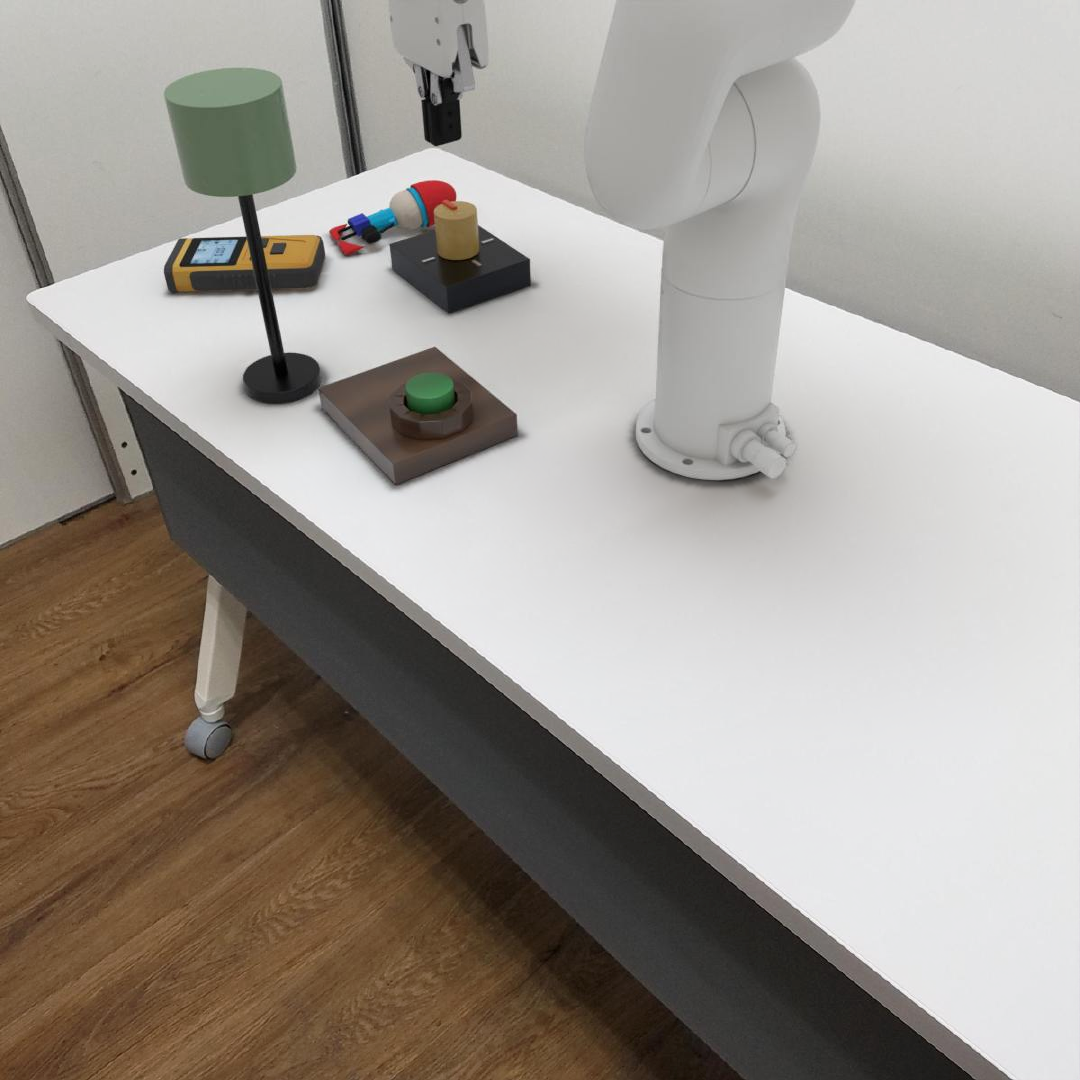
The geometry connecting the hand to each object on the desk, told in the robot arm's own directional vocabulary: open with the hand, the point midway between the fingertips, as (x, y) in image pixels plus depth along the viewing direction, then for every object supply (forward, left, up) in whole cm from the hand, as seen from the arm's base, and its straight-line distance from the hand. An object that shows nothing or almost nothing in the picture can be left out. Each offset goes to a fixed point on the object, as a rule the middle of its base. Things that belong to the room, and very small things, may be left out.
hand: (443, 140), depth 108 cm
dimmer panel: (+2, -2, -16) cm, 16 cm away
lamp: (-6, +22, -16) cm, 28 cm away
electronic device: (+16, +16, -16) cm, 28 cm away
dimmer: (+2, -2, -13) cm, 13 cm away
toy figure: (+16, -2, -16) cm, 22 cm away
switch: (-22, +15, -12) cm, 30 cm away
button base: (-19, +15, -16) cm, 29 cm away
